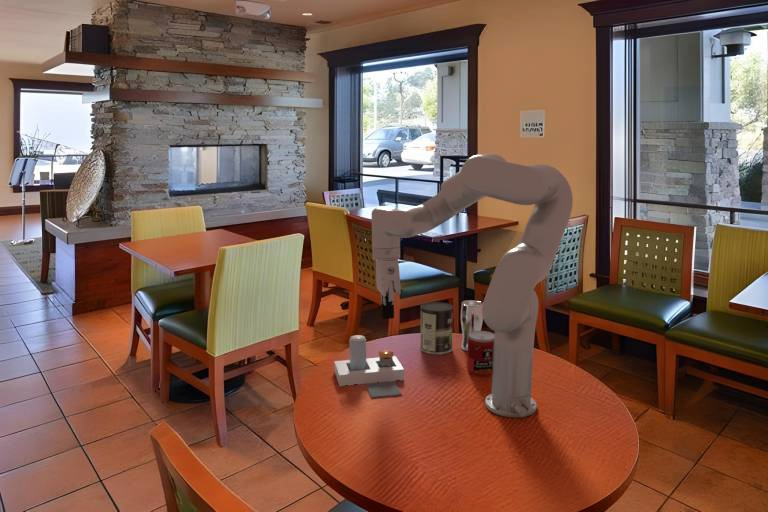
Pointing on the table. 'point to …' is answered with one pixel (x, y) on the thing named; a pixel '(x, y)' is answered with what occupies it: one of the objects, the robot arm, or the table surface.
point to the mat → (383, 389)
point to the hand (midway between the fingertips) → (387, 317)
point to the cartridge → (357, 353)
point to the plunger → (385, 358)
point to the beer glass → (470, 319)
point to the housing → (368, 372)
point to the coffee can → (436, 327)
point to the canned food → (480, 353)
